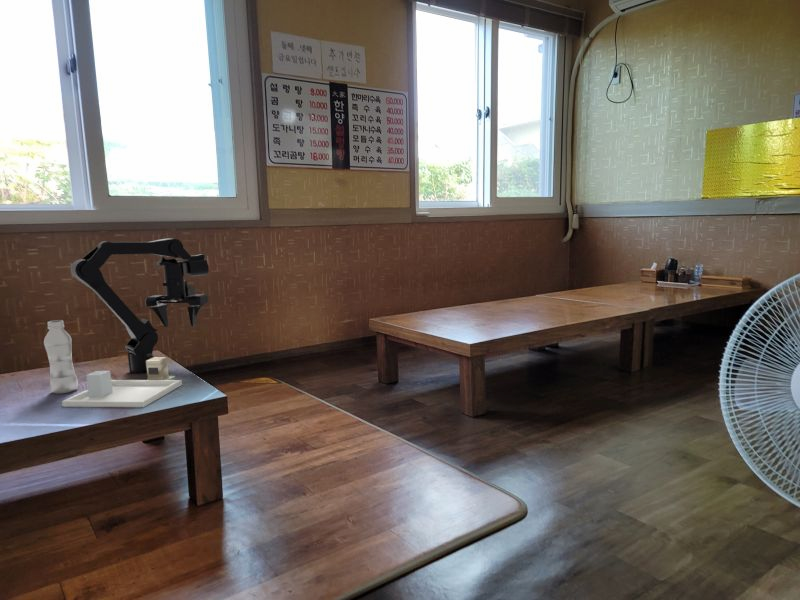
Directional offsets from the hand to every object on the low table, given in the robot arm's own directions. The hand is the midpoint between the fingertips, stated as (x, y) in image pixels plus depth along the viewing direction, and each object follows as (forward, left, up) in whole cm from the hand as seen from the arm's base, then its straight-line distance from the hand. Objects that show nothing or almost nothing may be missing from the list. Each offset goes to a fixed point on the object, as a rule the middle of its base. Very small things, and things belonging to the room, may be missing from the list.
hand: (179, 326), depth 176 cm
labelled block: (+3, -19, -12) cm, 22 cm away
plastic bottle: (-18, -30, -12) cm, 37 cm away
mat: (+3, -19, -12) cm, 22 cm away
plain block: (-5, -33, -12) cm, 35 cm away
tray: (+2, -33, -12) cm, 35 cm away
